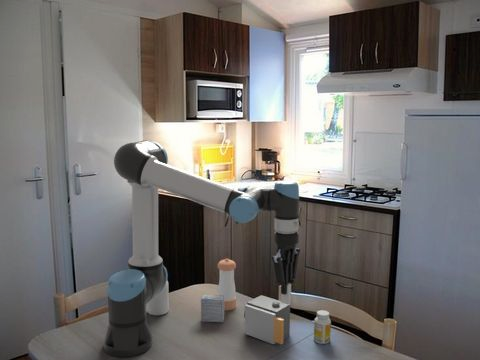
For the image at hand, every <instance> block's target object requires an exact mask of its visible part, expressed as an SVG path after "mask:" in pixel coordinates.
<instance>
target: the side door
mask: <svg viewBox="0 0 480 360" xmlns="http://www.w3.org/2000/svg"><path fill="white" fill-rule="evenodd" d="M244 312H245V318H244V334H245V335H246V336H250V337H253V338H255V339H258V340H261V341H263V342H266V343H269V344H270V345H271V344H272V345H274V344H275V343H277V344H280V345H283V344H284V340H285V338H284V319H281V318H278V317H276V314H275V313H272V312H269V311H266V310H263V309H260V308H257V307H254V306H251V305H248V304H247V303H246V304H245V305H244ZM275 345H276V344H275Z"/></svg>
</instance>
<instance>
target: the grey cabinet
mask: <svg viewBox="0 0 480 360" xmlns="http://www.w3.org/2000/svg"><path fill="white" fill-rule="evenodd" d="M247 304H248V305H251V306H254V307H257V308H260V309H263V310H266V311H269V312H272V313H275V314H276V317H278V318H281V319H284V339H285V338H287V337H289V336H290V329H291V328H290V327H291V325H290V323H291V321H290V320H291V303H290V304H285V303H281V300H278V299H274V298H271V297H268V296H265V295H259V296H257V297H255V298H253V299H251V300H249V301H247V303H246V305H247ZM243 315H244V316H243V318H244V319H245V311H244V314H243ZM277 344H278V343H275V345H277Z"/></svg>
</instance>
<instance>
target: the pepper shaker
mask: <svg viewBox="0 0 480 360" xmlns="http://www.w3.org/2000/svg"><path fill="white" fill-rule="evenodd" d="M236 267H237V264H236V262H235V261H234V260H232V259H229V258H228V257H227V258H225V259H221V260H220V261H219V262H218V263H217V269H218V270H219V280H218V281H219V282H218V286H217V287H218V288H217V291H218V292H217V295H223V296H224V311H232V310H234V309H235V310H236V308H237V297H236V284H235V269H236Z"/></svg>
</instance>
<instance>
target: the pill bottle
mask: <svg viewBox="0 0 480 360" xmlns="http://www.w3.org/2000/svg"><path fill="white" fill-rule="evenodd" d="M169 293H170V292H169V281H168V280H167V282H166V284H165V286H164V288H163V289H162V291H161V292H159V293H158V294H157V295H156V296H155V297H153V298H152V299H151V300H150V301H149V302H148V303H147V304H146V310H147V313H148V315H151V316H163V315H165V314H167V313H168V312H169V310H170V302H169Z"/></svg>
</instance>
